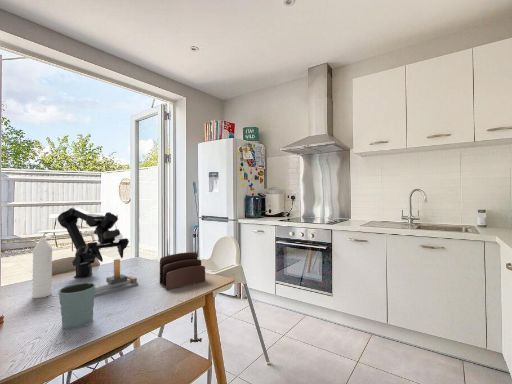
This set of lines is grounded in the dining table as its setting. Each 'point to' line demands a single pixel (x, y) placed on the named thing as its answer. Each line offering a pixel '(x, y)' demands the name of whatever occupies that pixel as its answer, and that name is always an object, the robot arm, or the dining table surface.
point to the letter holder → (181, 270)
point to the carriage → (116, 274)
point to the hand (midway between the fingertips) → (112, 259)
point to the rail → (115, 286)
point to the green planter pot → (77, 305)
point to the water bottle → (42, 269)
